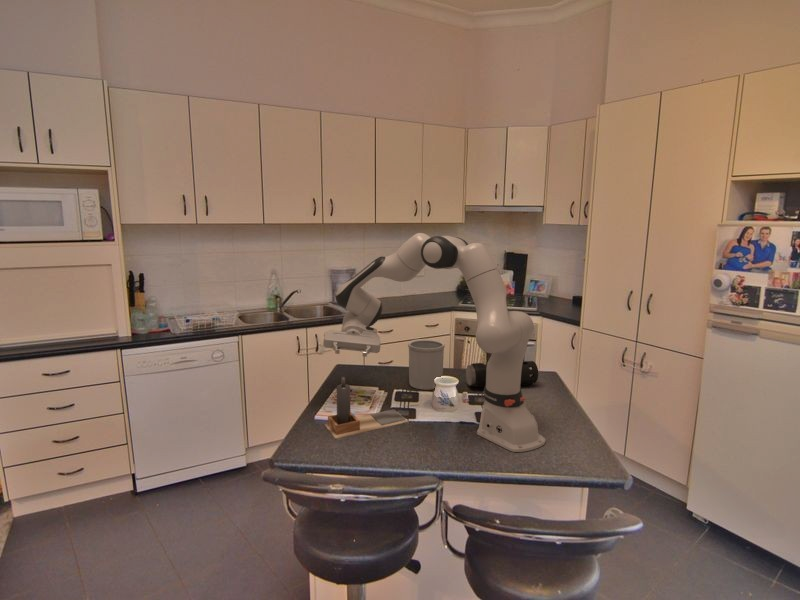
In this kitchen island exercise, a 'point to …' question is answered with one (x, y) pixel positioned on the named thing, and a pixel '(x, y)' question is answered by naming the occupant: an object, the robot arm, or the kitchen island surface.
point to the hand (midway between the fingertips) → (351, 353)
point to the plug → (343, 403)
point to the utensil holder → (425, 362)
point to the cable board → (364, 423)
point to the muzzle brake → (478, 374)
